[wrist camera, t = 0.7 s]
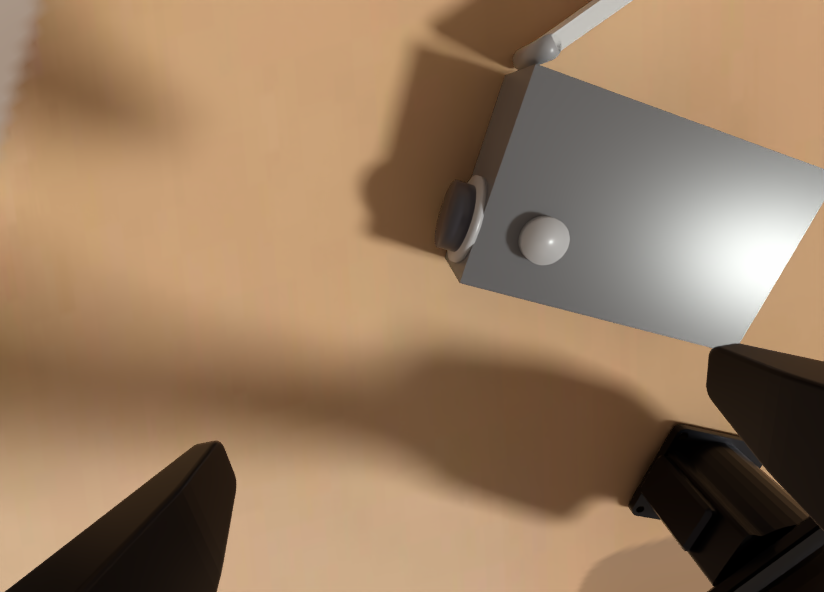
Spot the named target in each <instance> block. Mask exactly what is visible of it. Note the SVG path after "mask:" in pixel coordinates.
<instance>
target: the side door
mask: <svg viewBox="0 0 824 592" xmlns="http://www.w3.org/2000/svg"><path fill="white" fill-rule="evenodd" d="M631 1H633V0H592V1H591V2H589V3H588V4H586V5H585V6H583V7H582V8H581V9H579V10H578V11H576V12H575V13H574V14H572V15H571V16H569V17H568V18H567V19H565V20H564V21H562V22H561V23H560V24H558V25H557V26H555V27H554V28H552V29H551V30H550V31H548V32H547V33H545V34H544V35H543V36H541V37H540V38H538V39H537V40H536V41H534V42H532V43H530V44H528V45H526V46H524V47H522V48H520V49H518V50H517V51H516V52H515V54H514V56H513V65H514V67H515V68H516V69H518V70H521V69H524V68H526V67H529V66H531V65H534V64H538V65H540V64H542V63H545V62H548V61H551V60H553V59H555V58H556V57H557V56H558V55H559V53H560V51H561V50H563V49H564V48H565V47H567V46H568V45H570V44H571V43H573V42H574V41H575V40H577V39H578V38H580V37H581V36H583V35H584V34H585V33H587V32H588V31H590V30H591V29H593V28H594V27H595V26H597V25H598V24H600V23H601V22H603V21H604V20H605V19H607V18H608V17H610V16H611V15H613V14H614V13H615V12H617V11H618V10H620V9H621V8H623V7H624V6H625V5H627V4H628V3H630V2H631Z"/></svg>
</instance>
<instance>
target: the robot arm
mask: <svg viewBox="0 0 824 592" xmlns="http://www.w3.org/2000/svg"><path fill="white" fill-rule="evenodd" d="M706 387H707V392H708V395H709V397H710V399H711V400H712V402H713V403H714V404H715V405H716V407H717V408H718V409H719V411H720V412H721V413H722V414H723V416H724V417H725V418H726V419H727V421H728V422H729V423H730V425H731V426H732V427H733V428H734V430H735V431H736V432H737V433H738V435H739V436H740V437H739V436H734V435H729V434H725V433H720V432H715V431H711V430H706V429H702V428H697V427H692V426H688V425H683V424H680V425H677V426H675V427H674V428H673V429H672V430H671V432H670V434H669V435H668V437H667V439H666V441H665V442H664V444H663V446H662V447H661V449H660V451H659V453H658V454H657V456H656V458H655V460H654V461H653V463H652V465H651V466H650V468H649V470H648V472H647V473H646V475H645V477H644V479H643V480H642V482H641V484H640V485H639V487H638V489H637V491H636V492H635V494H634V496H633V498H632V499H631V501H630V503H629V509H630V510H631V511H632V513H633V514H634V515H636V516H642V517H647V518H653V519H659V520H662V522H663V523H664V524H665V526H666V527H667V529H668V530H669V531H670V533H671V534H672V535H673V537H674V538H675V539H676V541H677V542H678V543H679V545H680V546H681V547H682V549H683V550H685V551H687V552H688V553H689V554H690V555H691V557H692V558H693V559H694V561H695V562H696V563H697V565H698V566H699V567H700V569H701V570H702V572H703V573H704V574H705V576H706V577H707V578H708V580H709V581H710V582H711V584H712V585H713V586H714V587H713V588H712V589H710V590H709V591H707V592H824V361H819V360H814V359H809V358H805V357H800V356H795V355H791V354H786V353H781V352H777V351H772V350H767V349H762V348H758V347H753V346H748V345H744V344H738V343H732V344H727V345H722V346H717V347H714V348H713V349H712V350H711V351H710V353H709V359H708V371H707V382H706ZM681 433H682V434H681ZM762 465H763V466H764V467H765V468H766V470H767V471H768V472H769V473H770V474H771V475H772V476H773V478H774V479H775V480H776V481H777V482H778V483H779V484H780V485H781V486H782V487H783V488H784V489H785V490H786V491H785V490H784V489H783V488H782V487H781V486H780V485H778V484H777V483H776V482H775V481H774V480H773V479H771V478H770V477H769V476H768V475H767V474H766V473H765V472H763V471H762V470H761V469H760V468H761V466H762ZM235 494H236V477H235V474H234V471H233V469H232V466H231V464H230V461H229V459H228V456H227V453H226V451H225V448H224V446H223V445H222V443H221V442H219V441H211V442H206V443H201V444H197V445H194V446H193V447H192V448H190V449H189V450H188V451H186V452H185V453H184V454H182V455H181V456H180V457H179V458H177V459H176V460H175V461H173V462H172V463H171V464H170V465H168V466H167V467H166V468H164V469H163V470H162V471H160V472H159V473H158V474H157V475H155V476H154V477H153V478H151V479H150V480H149V481H148V482H146V483H145V484H144V485H142V486H141V487H140V488H138V489H137V490H136V491H135V492H133V493H132V494H131V495H129V496H128V497H127V498H126V499H124V500H123V501H122V502H120V503H119V504H118V505H116V506H115V507H114V508H113V509H111V510H110V511H109V512H107V513H106V514H105V515H104V516H102V517H101V518H100V519H98V520H97V521H96V522H94V523H93V524H92V525H91V526H89V527H88V528H87V529H85V530H84V531H83V532H82V533H80V534H79V535H78V536H76V537H75V538H74V539H72V540H71V541H70V542H69V543H67V544H66V545H65V546H63V547H62V548H61V549H60V550H58V551H57V552H56V553H54V554H53V555H52V556H50V557H49V558H48V559H47V560H45V561H44V562H43V563H41V564H40V565H39V566H38V567H36V568H35V569H34V570H32V571H31V572H30V573H28V574H27V575H26V576H25V577H23V578H22V579H21V580H19V581H18V582H17V583H16V584H14V585H13V586H12V587H10V588H9V589H8V590H6V591H5V592H217V588H218V584H219V580H220V577H221V572H222V567H223V562H224V557H225V551H226V545H227V539H228V534H229V528H230V522H231V516H232V511H233V505H234V499H235Z"/></svg>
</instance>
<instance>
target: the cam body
mask: <svg viewBox="0 0 824 592" xmlns="http://www.w3.org/2000/svg"><path fill="white" fill-rule="evenodd" d="M823 202H824V169H822V168H819V167H817V166H814V165H811V164H809V163H806V162H803V161H800V160H798V159H795V158H792V157H789V156H787V155H784V154H781V153H778V152H776V151H773V150H770V149H767V148H765V147H762V146H759V145H757V144H754V143H751V142H748V141H746V140H743V139H740V138H737V137H735V136H732V135H729V134H726V133H724V132H721V131H718V130H715V129H713V128H710V127H707V126H704V125H702V124H699V123H696V122H694V121H691V120H688V119H685V118H683V117H680V116H677V115H674V114H672V113H669V112H666V111H663V110H661V109H658V108H655V107H652V106H650V105H647V104H644V103H642V102H639V101H636V100H633V99H631V98H628V97H625V96H622V95H620V94H617V93H614V92H611V91H609V90H606V89H603V88H600V87H598V86H595V85H592V84H590V83H587V82H584V81H581V80H579V79H576V78H573V77H570V76H568V75H565V74H562V73H559V72H557V71H554V70H551V69H548V68H546V67H543V66H540V65H538V64H534V65H531V66H529V67H526V68H524V69H521V70H518V71H516V72H513V73H510V74H508V75H505V77H504V80H503V83H502V86H501V89H500V92H499V95H498V98H497V102H496V105H495V108H494V111H493V114H492V117H491V120H490V123H489V126H488V129H487V132H486V135H485V138H484V141H483V144H482V147H481V150H480V153H479V156H478V159H477V162H476V165H475V168H474V171H473V174H472V177H471V179H470V180H469V181H468V183H465V182H462V181H459V180H454V181H453V182H452V184H451V185H450V187H449V189H448V191H447V193H446V195H445V198H444V200H443V203H442V206H441V209H440V212H439V216H438V220H437V225H436V230H435V246H436V247H437V248H441V249H445V250H447V253H446V256H445V259H446V260H447V262H448V264H449V265H450V267H451V269H452V271H453V272H454V274H455V276H456V277H457V279H458V281H459V283H462V284H466V285H470V286H473V287H477V288H481V289H485V290H489V291H493V292H497V293H501V294H505V295H508V296H512V297H516V298H520V299H524V300H528V301H532V302H536V303H539V304H543V305H547V306H551V307H555V308H559V309H563V310H567V311H571V312H574V313H578V314H582V315H586V316H590V317H594V318H598V319H602V320H606V321H609V322H613V323H617V324H621V325H625V326H629V327H633V328H637V329H640V330H644V331H648V332H652V333H656V334H660V335H664V336H668V337H672V338H675V339H679V340H683V341H687V342H691V343H695V344H699V345H703V346H706V347H710V348H714V347H717V346H722V345H727V344H732V343H738V344H739V343H740V342H741V340H742V338H743V337H744V335H745V333H746V332H747V330H748V328H749V327H750V325H751V323H752V321H753V320H754V318H755V316H756V315H757V313H758V311H759V310H760V308H761V306H762V305H763V303H764V301H765V300H766V298H767V296H768V294H769V293H770V291H771V289H772V288H773V286H774V284H775V283H776V281H777V279H778V278H779V276H780V274H781V273H782V271H783V269H784V267H785V266H786V264H787V262H788V261H789V259H790V257H791V256H792V254H793V252H794V251H795V249H796V247H797V246H798V244H799V242H800V241H801V239H802V237H803V235H804V234H805V232H806V230H807V229H808V227H809V225H810V224H811V222H812V220H813V219H814V217H815V215H816V214H817V212H818V210H819V208H820V207H821V205H822V203H823Z"/></svg>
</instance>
